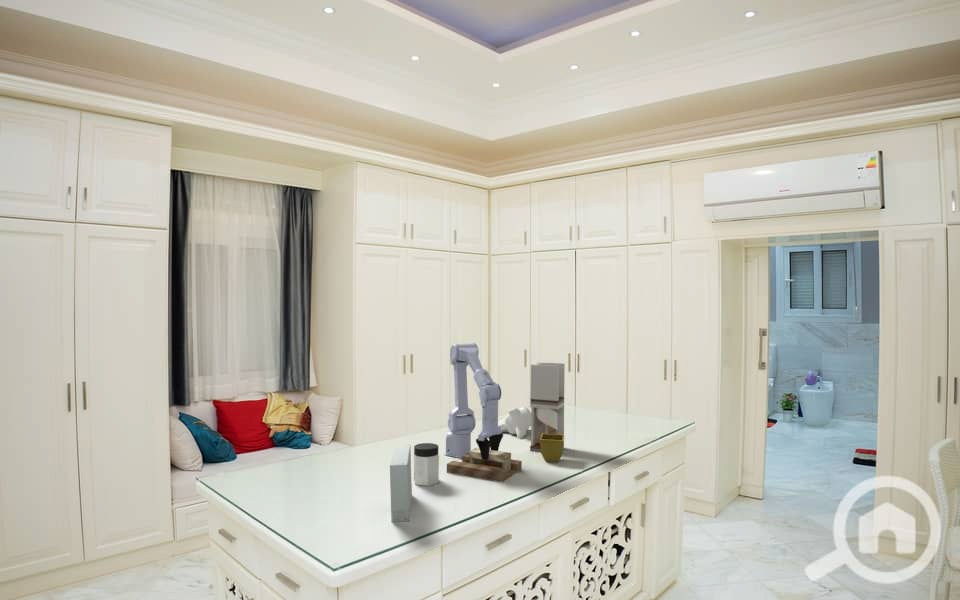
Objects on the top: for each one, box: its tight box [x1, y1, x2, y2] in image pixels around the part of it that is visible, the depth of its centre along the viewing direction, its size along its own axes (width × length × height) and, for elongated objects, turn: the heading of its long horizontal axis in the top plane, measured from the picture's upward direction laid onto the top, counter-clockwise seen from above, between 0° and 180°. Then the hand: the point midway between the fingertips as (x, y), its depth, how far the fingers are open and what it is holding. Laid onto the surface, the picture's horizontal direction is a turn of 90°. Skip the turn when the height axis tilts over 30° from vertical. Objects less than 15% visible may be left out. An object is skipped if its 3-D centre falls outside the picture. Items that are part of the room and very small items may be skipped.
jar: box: [413, 442, 440, 487], centre depth 185 cm, size 9×8×12 cm
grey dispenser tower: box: [529, 361, 566, 453], centre depth 227 cm, size 11×11×35 cm
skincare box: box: [389, 444, 413, 523], centre depth 162 cm, size 21×5×16 cm, turn 5°
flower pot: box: [540, 434, 565, 463], centre depth 211 cm, size 9×9×9 cm
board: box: [446, 453, 523, 483], centre depth 198 cm, size 22×16×3 cm
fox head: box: [498, 406, 531, 439], centre depth 254 cm, size 13×17×20 cm
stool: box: [469, 447, 512, 471], centre depth 197 cm, size 14×5×6 cm, turn 64°
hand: (489, 456), depth 197 cm, fingers open, 7 cm apart
